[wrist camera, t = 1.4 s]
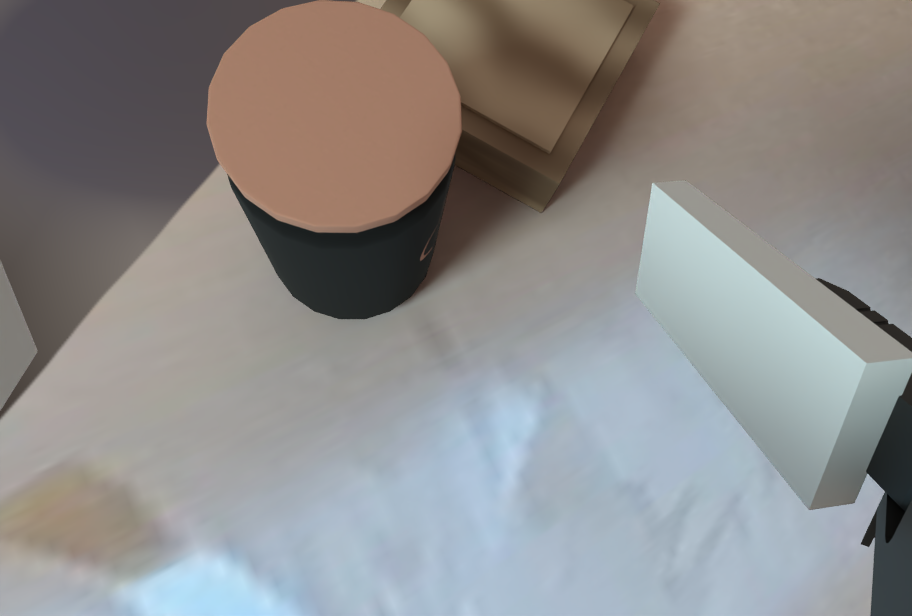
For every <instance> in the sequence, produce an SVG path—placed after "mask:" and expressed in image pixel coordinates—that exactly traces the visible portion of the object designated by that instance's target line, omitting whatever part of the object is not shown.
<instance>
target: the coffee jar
mask: <svg viewBox="0 0 912 616" xmlns="http://www.w3.org/2000/svg"><path fill="white" fill-rule="evenodd" d="M207 127H208V131H209V134H210V137H211V141H212V144H213V147H214V150H215V154H216V157H217V160H218V162H219V163H220V165H221V166H222V167H223V169H224V170H225V171H226V173H227V175H228V178H229V182H230V185H231V188H232V190H233V192H234V194H235V195H236V197H237V199H238V201H239V203H240V205H241V207H242V209H243V211H244V212H245V214H246V216H247V218H248V220H249V222H250V224H251V226H252V228H253V229H254V231H255V233H256V235H257V237H258V239H259V241H260V243H261V245H262V246H263V248H264V250H265V252H266V254H267V256H268V258H269V260H270V262H271V263H272V265H273V267H274V269H275V271H276V273H277V275H278V277H279V278H280V279H281V281H282V282H283V283H284V285H285V286H286V287H287V289H288V290H289V291H290V293H291V294H292V296H293V297H295V298H296V299H298V300H299V301H300V302H302V303H303V304H305V305H306V306H307V307H309V308H310V309H312V310H313V311H315V312H318V313H321V314H325V315H328V316H331V317H334V318H338V319H367V318H370V317H373V316H376V315H380V314H383V313H386V312H389V311H391V310H393V309H394V308H395V307H397V306H398V305H400V304H401V303H402V302H404V301H405V300H407V299H408V298H409V297H411V296H412V294H413V293H414V292H415V290H416V289H417V288H418V286H419V285H420V283H421V282H422V281H423V279H424V278H425V277H426V274H427V271H428V267H429V264H430V261H431V258H432V255H433V251H434V247H435V243H436V239H437V235H438V230H439V226H440V222H441V218H442V214H443V210H444V206H445V201H446V197H447V193H448V189H449V185H450V181H451V177H452V172H453V168H454V164H455V160H456V157H455V152H456V149H457V145H458V142H459V139H460V136H461V133H462V119H461V96H460V93H459V91H458V88H457V86H456V83H455V81H454V78H453V75H452V73H451V70H450V68H449V65H448V63H447V61H446V60H445V59H444V58H443V56H442V55H441V54H440V53H439V52H438V50H437V49H436V48H435V47H434V45H433V44H432V43H431V42H430V41H429V39H428V38H427V37H426V36H425V35H424V34H423V33H421V32H420V31H418V30H417V29H416V28H414V27H413V26H411V25H410V24H408V23H407V22H405V21H404V20H402V19H401V18H399V17H398V16H396V15H395V14H393V13H390V12H386V11H383V10H380V9H377V8H374V7H371V6H368V5H365V4H362V3H359V2H346V1H345V2H344V1H326V0H318V1H314V2H310V3H305V4H300V5H297V6H291V7H287V8H282V9H281V10H279V11H277V12H275V13H273V14H271V15H270V16H268V17H266V18H264V19H262V20H261V21H259V22H257V23H255V24H253V25H252V26H250V27H249V28H248V29H247V30H246V31H245V32H244V33H243V34H242V35H241V36H240V37H239V38H238V39H237V40H236V42H235V43H234V44H233V45H232V46H231V47H230V48H229V49H228V50H227V51H226V52H225V53H224V55H223V57H222V59H221V61H220V64H219V66H218V68H217V71H216V73H215V75H214V77H213V79H212V82H211V84H210V86H209V96H208V112H207Z"/></svg>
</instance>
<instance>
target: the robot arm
mask: <svg viewBox="0 0 912 616" xmlns="http://www.w3.org/2000/svg"><path fill="white" fill-rule="evenodd" d="M635 294H636V295H637V297H638V298H639V299H640V300H641V302H642V303H643V304H644V305H645V307H646V308H647V309H648V310H649V312H650V313H651V314H652V315H653V317H654V318H655V319H656V320H657V322H658V323H659V324H660V325H661V327H662V328H663V329H664V330H665V331H666V333H667V334H668V335H669V336H670V338H671V339H672V340H673V341H674V343H675V344H676V345H677V346H678V348H679V349H680V350H681V351H682V353H683V354H684V355H685V356H686V358H687V359H688V360H689V361H690V363H691V364H692V365H693V366H694V368H695V369H696V370H697V371H698V373H699V374H700V375H701V376H702V378H703V379H704V380H705V381H706V382H707V384H708V385H709V386H710V387H711V389H712V390H713V391H714V392H715V394H716V395H717V396H718V397H719V399H720V400H721V401H722V402H723V404H724V405H725V406H726V407H727V409H728V410H729V411H730V412H731V414H732V415H733V416H734V417H735V419H736V420H737V421H738V422H739V424H740V425H741V426H742V427H743V429H744V430H745V431H746V432H747V433H748V435H749V436H750V437H751V438H752V440H753V441H754V442H755V443H756V445H757V446H758V447H759V448H760V450H761V451H762V452H763V453H764V455H765V456H766V457H767V458H768V460H769V461H770V462H771V463H772V465H773V466H774V467H775V468H776V470H777V471H778V472H779V473H780V475H781V476H782V477H783V478H784V480H785V481H786V482H787V483H788V485H789V486H790V487H791V488H792V489H793V491H794V492H795V493H796V494H797V496H798V497H799V498H800V499H801V501H802V502H803V503H804V504H805V506H806V507H807V508H808V509H809V510H812V509H819V508H826V507H832V506H839V505H845V504H852V503H855V500H856V498H857V496H858V494H859V491H860V489H861V487H862V484H863V482H864V480H865V478H866V475H867V473H868V474H869V475H870V476H871V477H872V478H873V479H874V480H875V481H876V482H877V484H878V485H879V486H880V487H881V488H882V489H883V490H884V491H885V493H884V495H883V497H882V499H881V502H880V504H879V506H878V508H877V510H876V512H875V514H874V516H873V519H872V521H871V523H870V525H869V527H868V529H867V531H866V533H865V536H864V538H863V540H862V542H861V544H862V545H865V546H868V547H869V546H870V544H871V542H872V540H873V538H875V550H874V567H873V584H872V601H871V616H912V338H911V337H910V336H909V335H907V334H906V333H904V332H903V331H902V330H900V329H899V328H898V327H896V326H895V325H894V324H888V320H887V319H885V318H884V317H883V316H881V315H880V314H879V313H877V312H876V311H871V310H870V307H869V306H868V305H866V304H865V303H864V302H862V301H861V300H860V299H858V298H857V297H856V296H854V295H853V294H851V293H850V292H849V291H847V290H844V289H842V288H840V287H838V286H835V285H833V284H831V283H829V282H826V281H824V280H822V279H820V278H818V279H815V278H814V277H812V276H811V275H810V274H808V273H807V272H806V271H805V270H803V269H802V268H801V267H799V266H798V265H797V264H795V263H794V262H793V261H791V260H790V259H789V258H787V257H786V256H785V255H783V254H782V253H781V252H780V251H778V250H777V249H776V248H774V247H773V246H772V245H770V244H769V243H768V242H766V241H765V240H764V239H762V238H761V237H760V236H758V235H757V234H756V233H755V232H753V231H752V230H751V229H749V228H748V227H747V226H745V225H744V224H743V223H741V222H740V221H739V220H737V219H736V218H735V217H734V216H732V215H731V214H730V213H728V212H727V211H726V210H724V209H723V208H722V207H720V206H719V205H718V204H716V203H715V202H714V201H712V200H711V199H710V198H709V197H707V196H706V195H705V194H703V193H702V192H701V191H699V190H698V189H697V188H695V187H694V186H693V185H691V184H690V183H689V182H687V181H686V180H684V181H670V182H656V183H652V190H651V196H650V202H649V209H648V215H647V221H646V228H645V234H644V240H643V247H642V253H641V260H640V266H639V272H638V279H637V285H636V291H635ZM36 353H37V349H36V346H35V344H34V341H33V339H32V336H31V334H30V332H29V329H28V327H27V324H26V322H25V319H24V317H23V314H22V312H21V309H20V307H19V305H18V302H17V300H16V297H15V295H14V293H13V290H12V287H11V285H10V283H9V280H8V278H7V275H6V273H5V271H4V268H3V265H2V263H1V261H0V410H1V409H2V407H3V405H4V404H5V402H6V401H7V399H8V397H9V396H10V394H11V393H12V391H13V389H14V388H15V386H16V384H17V383H18V381H19V380H20V378H21V377H22V375H23V373H24V372H25V371H26V369H27V367H28V366H29V364H30V363H31V361H32V359H33V358H34V356H35V355H36Z"/></svg>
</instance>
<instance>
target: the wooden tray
mask: <svg viewBox="0 0 912 616" xmlns="http://www.w3.org/2000/svg"><path fill="white" fill-rule="evenodd" d="M659 4H660V3H658V2H656V1H654V0H386V2H385V3H384V5H383V6H382V7H381V9H380V10H383V11H386V12H390V13H393V14H395V15H396V16H398V17H399V18H401V19H402V20H404V21H405V22H407V23H408V24H410V25H411V26H413V27H414V28H416V29H417V30H418V31H420V32H421V33H423V34H424V35H425V36H426V37H427V38H428V39H429V41H430V42H431V43H432V44H433V45H434V47H435V48H436V49H437V50H438V52H439V53H440V54H441V55H442V56H443V58H444V59H445V60H446V61H447V63H448V65H449V68H450V70H451V73H452V75H453V78H454V81H455V83H456V86H457V88H458V91H459V93H460V96H461V119H462V133H461V136H460V139H459V142H458V145H457V149H456V152H455V157H456V160H455V165H456V166H458V167H460V168H462V169H464V170H465V171H467V172H469V173H471V174H472V175H474V176H476V177H478V178H480V179H481V180H483V181H485V182H487V183H489V184H490V185H492V186H494V187H496V188H498V189H499V190H501V191H503V192H505V193H506V194H508V195H510V196H512V197H514V198H515V199H517V200H519V201H521V202H523V203H524V204H526V205H528V206H530V207H532V208H533V209H535V210H537V211H539V212H540V213H542V211H543V210H544V208H545V206H546V205H547V203H548V202H549V200H550V198H551V197H552V195H553V194H554V192H555V190H556V189H557V187H558V186H559V184H560V182H561V181H562V179H563V177H564V175H565V173H566V172H567V170H568V168H569V166H570V164H571V163H572V161H573V159H574V157H575V155H576V154H577V152H578V150H579V148H580V146H581V145H582V143H583V141H584V139H585V137H586V136H587V134H588V132H589V130H590V128H591V127H592V125H593V123H594V121H595V119H596V118H597V116H598V114H599V112H600V110H601V109H602V107H603V105H604V103H605V101H606V100H607V98H608V96H609V94H610V92H611V91H612V89H613V87H614V85H615V83H616V82H617V80H618V78H619V76H620V74H621V73H622V71H623V69H624V67H625V65H626V64H627V62H628V60H629V58H630V56H631V55H632V53H633V51H634V49H635V47H636V46H637V44H638V42H639V40H640V38H641V37H642V35H643V33H644V31H645V29H646V28H647V26H648V24H649V22H650V20H651V19H652V17H653V15H654V13H655V11H656V10H657V8H658V6H659Z"/></svg>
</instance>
